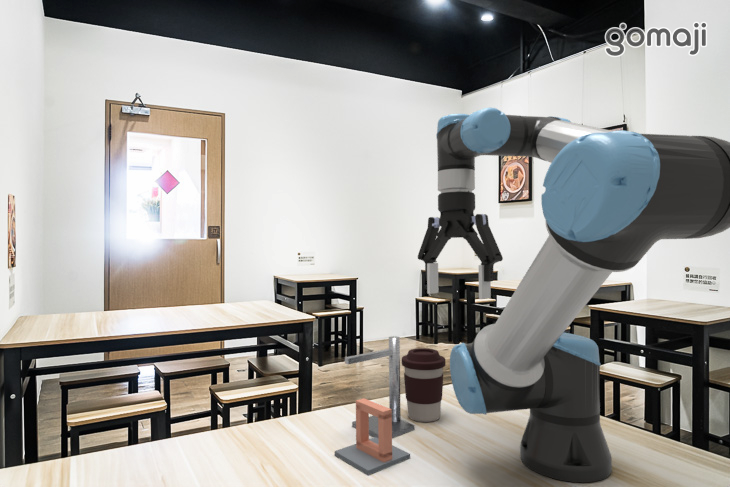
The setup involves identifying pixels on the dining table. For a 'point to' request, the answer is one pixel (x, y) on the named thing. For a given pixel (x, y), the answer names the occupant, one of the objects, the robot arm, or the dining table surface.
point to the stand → (394, 387)
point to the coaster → (369, 458)
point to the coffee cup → (423, 383)
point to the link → (384, 429)
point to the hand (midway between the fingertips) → (457, 295)
